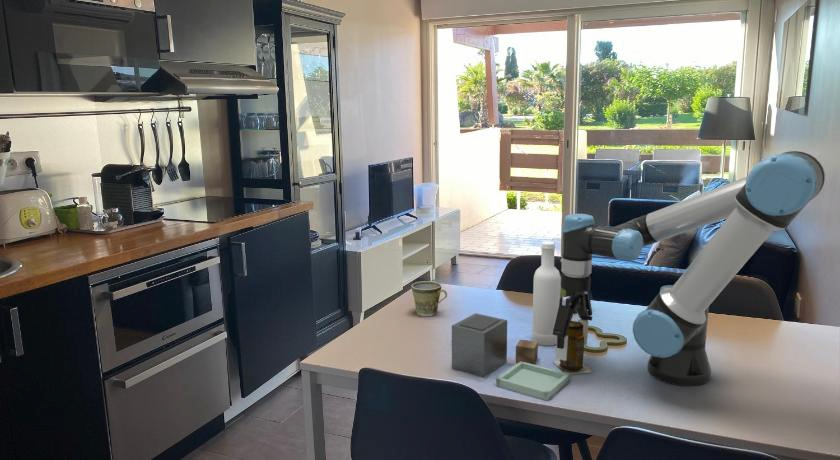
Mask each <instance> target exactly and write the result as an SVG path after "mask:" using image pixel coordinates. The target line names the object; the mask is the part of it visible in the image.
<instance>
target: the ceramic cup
mask: <svg viewBox="0 0 840 460" xmlns="http://www.w3.org/2000/svg"><path fill="white" fill-rule="evenodd" d="M411 291H412V292H411V293H412V296H413V299H414V304H415V305H414V306H415V311H416V314H417V316H419V315H421V316H420V317H423V316H431V317H434V316H436V315H437V313H438V306H439V304H440V303H441V302H442V301H444V300H445V299H446V298H447V296H448V293H447V291H446V290H445V289H442V284H441V282H436V281H431V280H428V281H426V280H423V281H416V282H414V283H412V284H411ZM441 293H444V295H445V296H444V297H443V298H442V299H440V296H441ZM435 314H436V315H435ZM433 315H434V316H433Z"/></svg>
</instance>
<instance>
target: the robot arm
mask: <svg viewBox="0 0 840 460" xmlns="http://www.w3.org/2000/svg"><path fill="white" fill-rule="evenodd" d="M825 179H826V174H825V170H824V167H823V165H822V163H821V162H820V161H819V160H818V159H817V158H816V157H815V156H814V155H811V154H810V153H807V152H805V151H798V150H791V151H786V152H782V153H779V154H773V155H771V156H768V157H766V158H764V159H762V160H761V161H760V162H758V163H757V164H756V165H754V166H753V168H752V169H751V170H749V172H748V174H747V176H745V177H742V178H739V179H737V180H735V181H732V182H730V183H727V184H724V185H721V186H718V187H716V188H713V189H711V190H707V191H706V192H702V193H700V194H697V195H694V196H692V197H689V198H687V199H684V200H682V201H679V202H675V203H673V204H671V205H668V206H665V207H663V208H660V209H658V210H655V211H652V212H650V213H647V214H645V215H641V216H639V217H635V218H633V219H630V220H628V221H626V222H624V223H621V224H618V225H615V226H608V225H607V226H606V225H600V224H595V218H594V216H593V215H591V214H587V213H571V214H567V215H566V216H565V217H564V220H563V226H562V227H563V229H562V251H561V252H562V254H561V259H560V263H561V272H562V273H560V277H561V288H563V289H564V290H565V291H566V295H565V297H561V296H560V301H559V308H558V312H557V317H556V321H555V325H554V329H553V335H556V336H557V342H556V345H555V359H557V360H559V361H560V360H564V361H566V360H567V345H568V336H566V335H567V332H568V329H569V325H570V322H571V321H572V320H573V315H575V314H576V310H577V314H578V316H579V318H578V319H577V322H580V323H582V324H583V334H584V345H588V337H589V336H588V335H589V321H592V320H593V316H592V315H593V309H592V302H591V297H590V289H591V280H592V277H591V275H590V274H592V266H593V264H592V263H593V255H594V256H601V257H605V258H606V257H607V258H609V259H610V258H611V259H616V260H619V261H632V262H633V261H636V260H637V259H638V258H639V256H640V255H641V253H642V250H643V248H645V247H647V246H650V245H653V244H656V243H659V242H661V241H664V240H667V239H669V238H672V237H676V236H679V235H681V234H685V233H687V232H690V231H694V230H697V229H700V228H702V227H706V226H707V225H708V226H709V225H711V224H714V223H717V222H720V221H724V220H725V221H724V222H723V223H722V224H721V226H720V227H719V228H718V230H717V231H716V232H715V233H714V234H713V236H712V237H711V238H710V239H709V241H708V242H707V243H706V244H705V245H704V247H703V248H702V250H701V251H700V252H699V253H698V254H697V256H696V257H695V258H694V260H692V262H691V263H690V265H688V267H687V268H686V270H684V272H683V273H682V274H681V276H680V277H679V278H678V280H677V281H675V283H674V284H672V285H671V284H668V285H663V286H661V287H660V289H659V293H658V294H657V295H656V296H655V297H654V299H653V300H651V302H650V303H649V305H648V306H647V307H646V308H645V310H643V311H641V312H639V313H638V314H637V315H636V318H635V319H634V320H633V323H632V333H633V338H634V340H635V342H636V344H637V345H638V347H639V348H640V349H641V350H642V351H644V352H645V353H647V354H648V355H649V358H648V361H647V372H648V373H649V374H650V375H651V376H652V377H653V376H654V377H653V378H655V379H657V380H660V381H662V382H664V381H665V383H668V384H671V385H677V384H679V385H678V386H685V385H694V386H699V384H701V385H704V384H703V383H705V384H706V382H707V383H708V382H709V381H711V373H712V369H711V368H712V367H711V364H710V362H709V361H710V360H709V357H708V353H707V349H706V342H707V331H708V321H709V320H708V319H709V310H710V305H711V304H712V303H713V302H714V301H715V300H716V298H717V297H718V296H719V294H721V292H722V291H723V290H724V289H725V288H726V287H727V286H728V285H729V283H730V282H731V281H732V280H733V279H734V278H735V276H736V275H737V274H738V273H739V271H741V269H742V268H743V267H744V266H745V264H746V263H747V262H749V260H750V259H751V257H752V256H753V255H754V254H755V253H756V252H757V251H758V249H759V248H760V247H761V246H762V245H763V244H764V242H765V241H766V240H767V238H769V236H770V235H771V234H772V233H773V232H775V231H781V230H782V231H783V230H784V231H785V230H786V229H787V228H788V226H789V225H790V224H791V223H792V222H793V221H794V220H795V218H796V217H797V216H798V215H799V214H800V213H801V211H802V210H803V209H804V208H805V207H806V205H808V204H809V202H811V201H812V200H813V199H815V198H816V197H817V196H818V195H819V194H820V192H821V191H822V190H823V187H824V185H825ZM673 383H674V384H673Z"/></svg>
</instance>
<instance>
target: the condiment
mask: <svg viewBox="0 0 840 460" xmlns="http://www.w3.org/2000/svg"><path fill="white" fill-rule="evenodd" d="M566 336H568V345H567V360H566V361H564V360H560V359H559V360H558V361H557V360H555V361H553V363H554V364H555V365H556V366H557V367H558V368H559V369H560V370H561V371H562V372H564V373H568V374H570V375H578V374H586V373H587V374H589V373H593V371H592V370H591V369H590V368H589V367H588V366H586V365H585V364H584V359H585V356H584V355H585V354H584V353H585V344H584V334H583V324H582V323H580V322H578V320H571V322H570V325H569V329H568V332H567V335H566Z"/></svg>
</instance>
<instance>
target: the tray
mask: <svg viewBox="0 0 840 460" xmlns="http://www.w3.org/2000/svg"><path fill="white" fill-rule="evenodd" d="M570 382H571V374H568V373H565V372H563V371H562V370H557V369H553V368H552V369H551V368H548V367H544V366H540V365H538V364H534V365H533V364H530V363H526V362H522V361H520V362H519V363H515V364H514V365H513V366H512V367H510V368H509V369H507V370H506V371H505V372H503V373H502V374H500V375H498V377H496V379H495V386H496V387H499V388H502V389H504V390H509V391H512V392H517V393H519V394H523V395H527V396H530V397H532V398H537V399H539V400H543V401H546V402H547V401H548V402H549V400H551V399H552V398H553V397H554V396H555V395H556V394H558V392H560V391H561V390H562V389H563V388H564V387H565V386H566V385H568V384H569V383H570Z"/></svg>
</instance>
